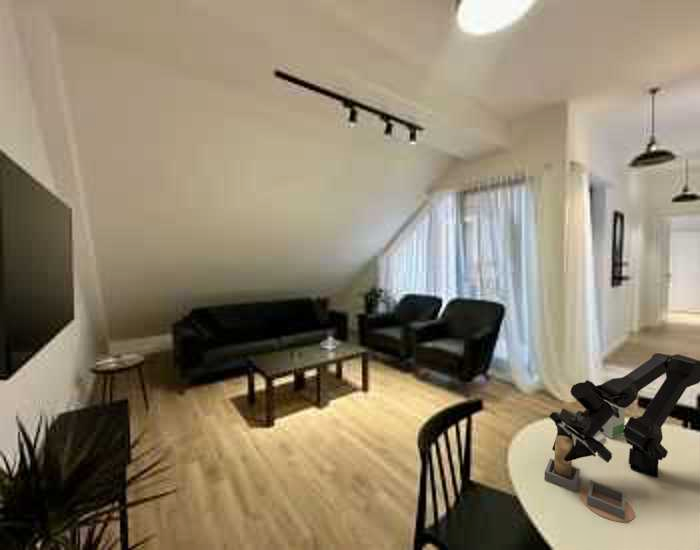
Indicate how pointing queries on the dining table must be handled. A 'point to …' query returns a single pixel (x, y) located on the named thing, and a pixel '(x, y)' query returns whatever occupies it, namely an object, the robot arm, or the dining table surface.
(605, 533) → the dining table surface
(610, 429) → the skincare box
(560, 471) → the rod
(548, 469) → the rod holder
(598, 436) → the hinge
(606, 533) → the dining table surface
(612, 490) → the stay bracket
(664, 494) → the dining table surface
